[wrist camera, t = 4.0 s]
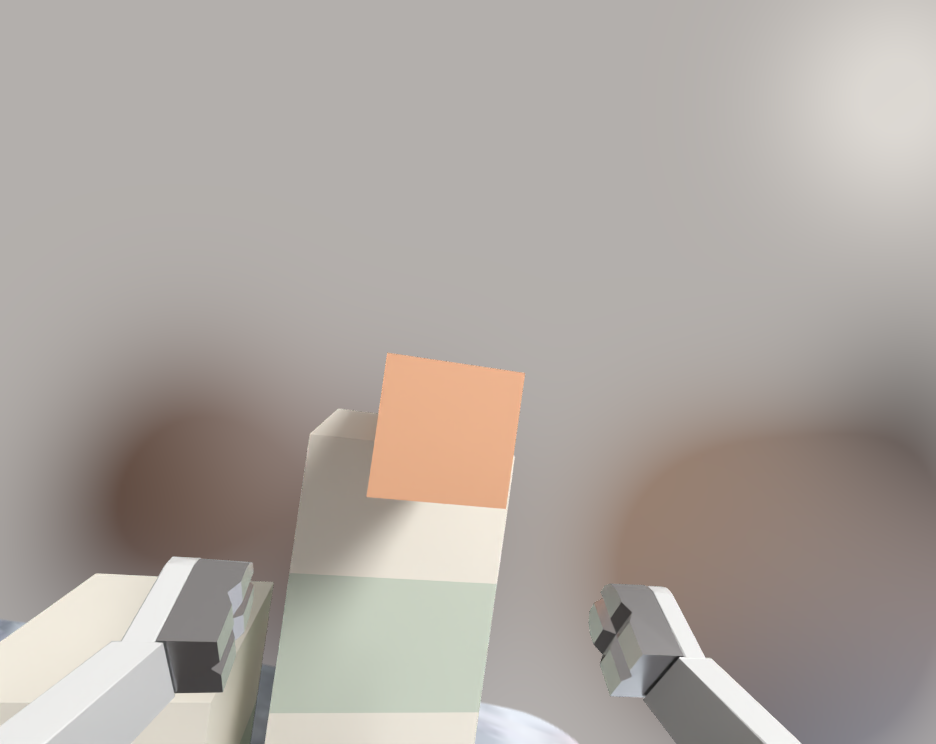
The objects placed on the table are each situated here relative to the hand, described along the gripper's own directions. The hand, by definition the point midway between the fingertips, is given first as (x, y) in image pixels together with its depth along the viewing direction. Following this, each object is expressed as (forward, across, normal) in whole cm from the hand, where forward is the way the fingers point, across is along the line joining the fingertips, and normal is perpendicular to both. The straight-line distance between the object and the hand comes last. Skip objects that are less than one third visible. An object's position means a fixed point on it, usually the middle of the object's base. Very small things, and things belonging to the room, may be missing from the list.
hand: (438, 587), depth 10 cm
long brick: (+11, 0, +5) cm, 12 cm away
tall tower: (+2, 0, +30) cm, 30 cm away
